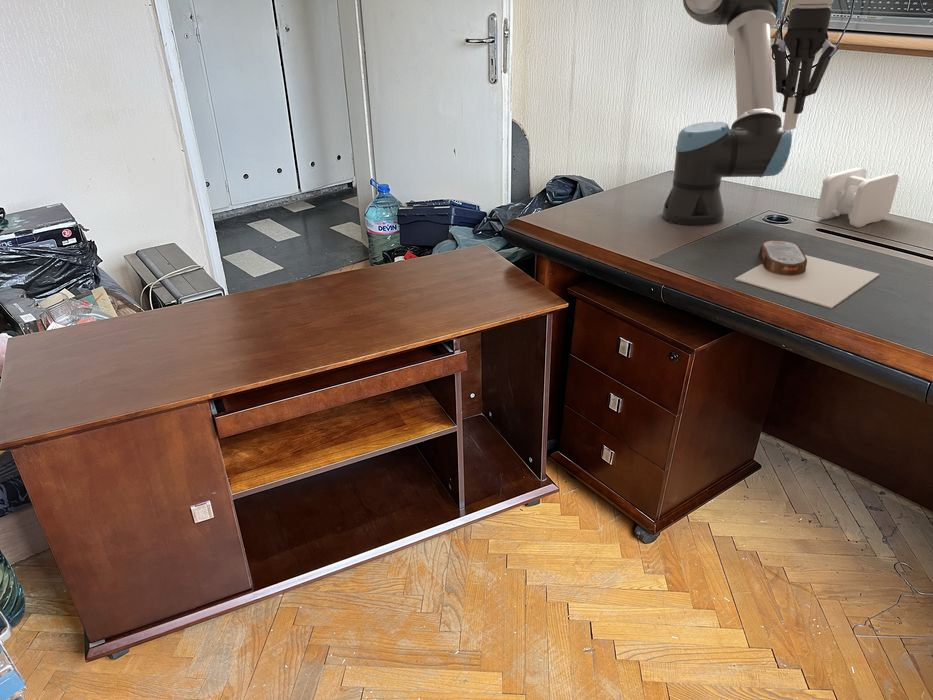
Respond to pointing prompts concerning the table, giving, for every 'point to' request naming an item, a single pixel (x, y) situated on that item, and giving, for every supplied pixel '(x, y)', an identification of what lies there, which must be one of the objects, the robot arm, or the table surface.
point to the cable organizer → (857, 196)
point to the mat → (813, 281)
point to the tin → (783, 257)
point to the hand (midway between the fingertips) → (789, 128)
